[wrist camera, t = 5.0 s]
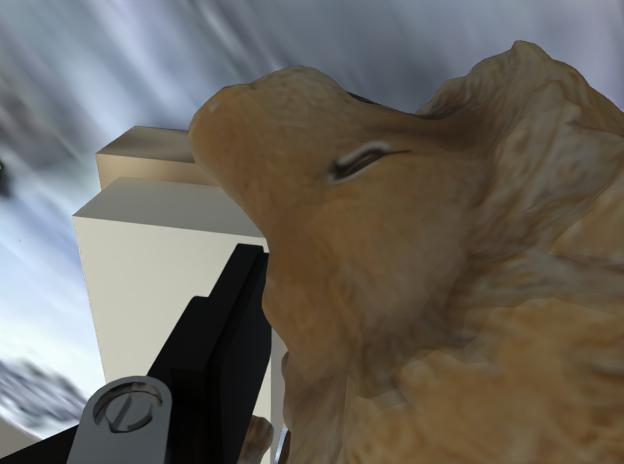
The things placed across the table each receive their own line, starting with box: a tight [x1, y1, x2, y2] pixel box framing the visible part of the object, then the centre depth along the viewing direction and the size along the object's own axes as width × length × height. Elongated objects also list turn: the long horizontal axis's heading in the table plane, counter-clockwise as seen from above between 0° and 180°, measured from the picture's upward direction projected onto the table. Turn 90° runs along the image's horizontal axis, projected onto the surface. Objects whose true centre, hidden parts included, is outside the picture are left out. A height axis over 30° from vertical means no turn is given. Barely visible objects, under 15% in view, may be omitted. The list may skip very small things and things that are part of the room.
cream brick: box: [72, 176, 287, 464], centre depth 25 cm, size 8×14×4 cm, turn 178°
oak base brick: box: [95, 126, 288, 428], centre depth 29 cm, size 10×16×4 cm, turn 178°
